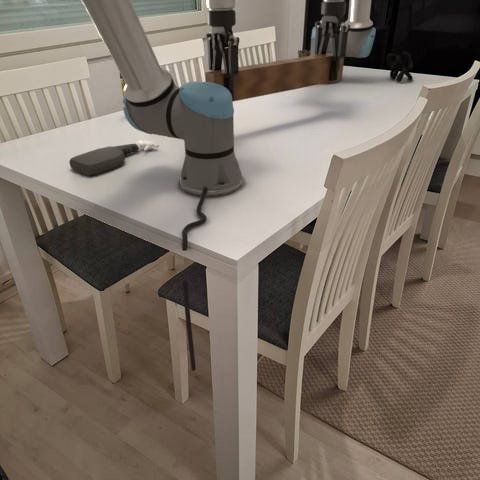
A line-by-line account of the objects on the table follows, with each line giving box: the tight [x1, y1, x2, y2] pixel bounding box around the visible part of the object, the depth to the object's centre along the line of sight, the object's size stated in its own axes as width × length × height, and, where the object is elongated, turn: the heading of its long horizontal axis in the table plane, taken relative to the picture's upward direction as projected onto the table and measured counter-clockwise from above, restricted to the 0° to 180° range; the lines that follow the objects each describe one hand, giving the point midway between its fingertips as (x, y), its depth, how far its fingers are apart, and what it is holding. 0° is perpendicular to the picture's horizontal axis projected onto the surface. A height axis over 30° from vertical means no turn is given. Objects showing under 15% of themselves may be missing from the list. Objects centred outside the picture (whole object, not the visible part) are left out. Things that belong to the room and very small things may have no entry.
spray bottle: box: [68, 139, 160, 177], centre depth 124 cm, size 3×11×24 cm
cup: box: [297, 49, 311, 58], centre depth 225 cm, size 8×7×8 cm
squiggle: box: [385, 51, 414, 83], centre depth 198 cm, size 11×10×15 cm
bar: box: [204, 53, 345, 102], centre depth 139 cm, size 51×5×8 cm, turn 125°
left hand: (224, 98), depth 130 cm, fingers closed on bar, 5 cm apart
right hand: (327, 78), depth 150 cm, fingers closed on bar, 5 cm apart
